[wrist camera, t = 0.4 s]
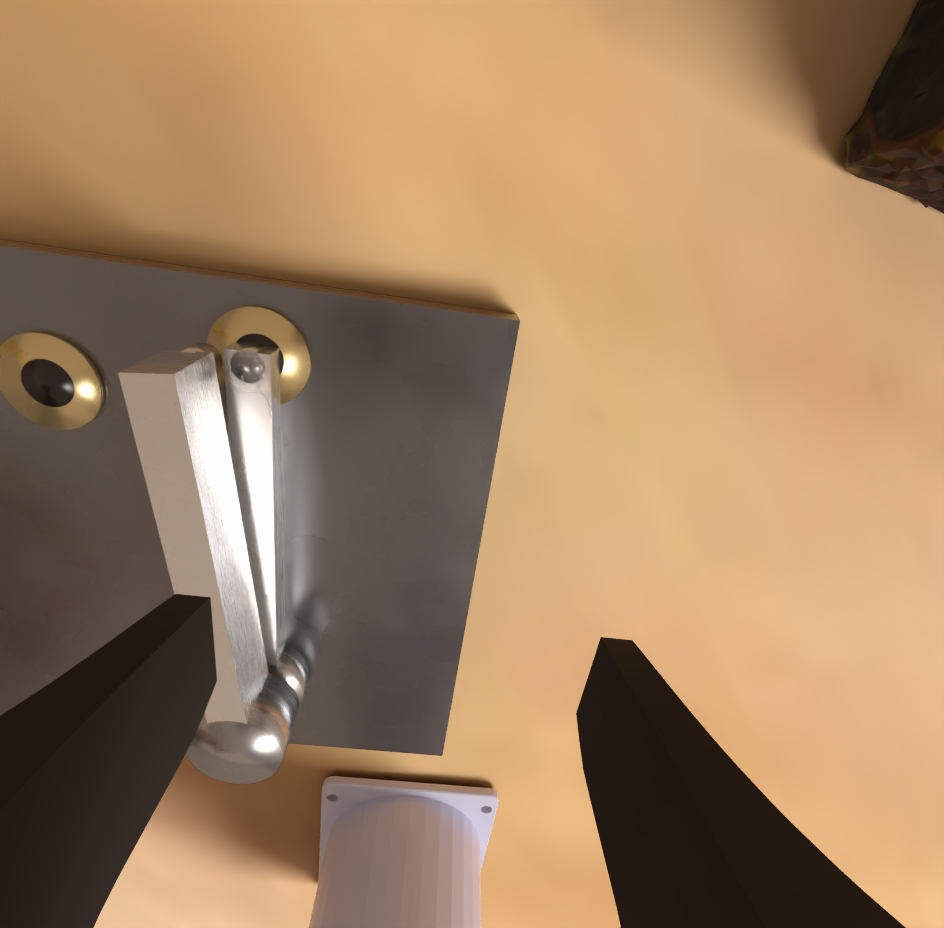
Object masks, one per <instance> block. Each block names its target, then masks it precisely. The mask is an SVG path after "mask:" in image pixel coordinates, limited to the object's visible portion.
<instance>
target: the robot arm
mask: <svg viewBox="0 0 944 928" xmlns="http://www.w3.org/2000/svg"><path fill="white" fill-rule="evenodd" d="M216 682H217V673H216V660H215V647H214V635H213V622H212V610H211V597H202V596H193V595H183V594H175V595H173V596H172V597H170V598H169V599H167V600H166V601H165V602H163V603H162V604H160V605H159V606H158V607H156V608H155V609H153V610H152V611H151V612H149V613H148V614H146V615H145V616H144V617H142V618H141V619H140V620H138V621H137V622H135V623H134V624H133V625H131V626H130V627H129V628H127V629H126V630H124V631H123V632H122V633H120V634H119V635H117V636H116V637H115V638H113V639H112V640H111V641H109V642H108V643H106V644H105V645H104V646H102V647H101V648H99V649H98V650H97V651H95V652H94V653H92V654H91V655H90V656H88V657H87V658H85V659H84V660H82V661H81V662H80V663H78V664H77V665H75V666H74V667H72V668H71V669H70V670H68V671H67V672H65V673H64V674H62V675H61V676H60V677H58V678H57V679H55V680H54V681H52V682H51V683H49V684H48V685H46V686H45V687H43V688H42V689H40V690H39V691H37V692H36V693H34V694H33V695H31V696H30V697H28V698H27V699H25V700H24V701H22V702H20V703H19V704H17V705H16V706H14V707H13V708H11V709H10V710H8V711H7V712H5V713H4V714H2V715H1V716H0V928H93V927H94V925H95V923H96V921H97V918H98V916H99V914H100V912H101V910H102V908H103V906H104V904H105V902H106V900H107V898H108V896H109V894H110V892H111V890H112V888H113V886H114V884H115V882H116V880H117V878H118V876H119V875H120V873H121V871H122V869H123V867H124V865H125V864H126V862H127V860H128V858H129V856H130V854H131V853H132V851H133V849H134V847H135V845H136V843H137V842H138V840H139V838H140V836H141V834H142V833H143V831H144V829H145V827H146V825H147V823H148V822H149V820H150V818H151V816H152V814H153V812H154V811H155V809H156V807H157V805H158V803H159V801H160V800H161V798H162V796H163V794H164V792H165V791H166V789H167V787H168V785H169V783H170V781H171V780H172V778H173V776H174V774H175V772H176V770H177V768H178V767H179V765H180V763H181V761H182V759H183V757H184V755H185V754H186V752H187V750H188V748H189V746H190V744H191V742H192V740H193V738H194V736H195V734H196V732H197V729H198V727H199V724H200V722H201V720H202V717H203V715H204V713H205V710H206V708H207V705H208V702H209V700H210V697H211V695H212V692H213V690H214V687H215V685H216ZM576 714H577V723H578V732H579V740H580V748H581V755H582V763H583V770H584V774H585V779H586V783H587V787H588V791H589V796H590V800H591V804H592V808H593V812H594V816H595V821H596V825H597V829H598V833H599V837H600V841H601V845H602V849H603V853H604V857H605V861H606V865H607V869H608V874H609V878H610V882H611V886H612V890H613V894H614V898H615V902H616V906H617V910H618V915H619V920H620V925H621V928H905V927H904V926H903V925H902V924H901V923H899V922H898V921H897V920H896V919H895V918H894V917H893V916H891V915H890V914H889V913H888V912H887V911H886V910H885V909H883V908H882V907H881V906H880V905H879V904H878V903H877V902H875V901H874V900H873V899H872V898H871V897H870V896H868V895H867V894H866V893H865V892H864V891H863V890H862V889H861V888H860V887H858V886H857V885H856V884H855V883H854V882H853V881H852V880H851V879H850V878H849V877H847V876H846V875H845V874H844V873H843V872H842V871H841V870H840V869H839V868H838V867H837V866H836V865H834V864H833V863H832V862H831V861H830V860H829V859H828V858H827V857H826V856H825V855H824V854H823V853H822V852H821V851H820V850H819V849H818V848H817V847H816V846H815V845H814V844H813V843H812V842H811V841H810V840H809V839H808V838H806V837H805V836H804V835H803V834H802V833H801V832H800V831H799V830H798V829H797V828H796V827H795V826H794V825H793V824H792V823H791V822H790V821H789V820H788V819H787V818H786V817H785V816H784V815H783V814H782V813H781V812H780V811H779V810H778V809H777V808H776V807H775V806H774V805H773V804H772V803H771V802H770V801H769V799H768V798H767V797H766V796H765V795H764V794H763V793H762V792H761V791H760V790H759V789H758V788H757V787H756V786H755V784H754V783H753V782H752V781H751V780H750V779H749V778H748V777H747V776H746V775H745V774H744V773H743V772H742V770H741V769H740V768H739V767H738V766H737V765H736V764H735V763H734V762H733V761H732V759H731V758H730V757H729V756H728V755H727V754H726V753H725V752H724V750H723V749H722V748H721V747H720V746H719V745H718V744H717V742H716V741H715V740H714V739H713V738H712V737H711V736H710V734H709V733H708V732H707V731H706V730H705V729H704V727H703V726H702V725H701V724H700V723H699V721H698V720H697V719H696V718H695V717H694V716H693V714H692V713H691V712H690V711H689V709H688V708H687V707H686V706H685V705H684V703H683V702H682V701H681V700H680V699H679V697H678V696H677V695H676V694H675V692H674V691H673V690H672V689H671V688H670V686H669V685H668V684H667V683H666V681H665V680H664V679H663V678H662V676H661V675H660V674H659V673H658V671H657V670H656V669H655V668H654V666H653V665H652V664H651V663H650V661H649V660H648V659H647V658H646V657H645V655H644V654H643V653H642V652H641V650H640V649H639V648H638V647H637V646H636V644H635V643H634V642H633V641H632V640H623V639H613V638H603V637H601V639H600V642H599V645H598V648H597V651H596V654H595V657H594V660H593V663H592V666H591V670H590V673H589V676H588V679H587V682H586V685H585V688H584V691H583V694H582V697H581V701H580V704H579V707H578V710H577V713H576ZM498 804H499V798H498V792H497V791H496V790H494V789H491V788H482V787H469V786H457V785H444V784H431V783H418V782H405V781H393V780H380V779H367V778H354V777H341V776H330V777H328V778H326V779H325V780H324V782H323V786H322V796H321V825H320V854H319V883H318V888H317V892H316V897H315V901H314V906H313V911H312V915H311V920H310V925H309V928H482V920H481V880H480V872H481V868H482V865H483V861H484V857H485V853H486V849H487V846H488V842H489V838H490V834H491V830H492V826H493V823H494V819H495V815H496V811H497V807H498Z"/></svg>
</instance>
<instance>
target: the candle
mask: <svg viewBox="0 0 944 928" xmlns="http://www.w3.org/2000/svg"><path fill="white" fill-rule="evenodd" d="M844 139H845V141H846V150H845V164H844V170H846V171H848V172H850V173H851V174H853V175H855V176H857V177H859V178H862V179H865V180H868V181H871V182H874V183H877V184H880V185H882V186H885V187H887V188H890V189H892V190H894V191H897V192H899V193H902V194H904V195H907V196H910V197H913V198H916V199H918V200H919V201H920V202H921V203H922V204H923V205H924V206H925V207H928V206H929V205H930V206H931V207H933V208H935V209H937V210H938V211H940V212H942V213H944V0H919V2H918V4H917V6H916V8H915V10H914V12H913V14H912V17H911V19H910V21H909V23H908V25H907V27H906V29H905V32H904V34H903V36H902V38H901V39H900V41H899V43H898V44H897V46H896V47H895V49H894V51H893V52H892V54H891V56H890V58H889V60H888V62H887V64H886V66H885V67H884V69H883V71H882V73H881V75H880V77H879V79H878V81H877V83H876V85H875V87H874V89H873V91H872V94H871V96H870V98H869V101H868V103H867V105H866V108H865V110H864V112H863V115H862V116H861V117H860V119H859V120H858V121H857V122H856V123H855V125H854V126H853V127H852V128H851V130H850V131H849V132H848V134H847V135H846V136H845V138H844Z"/></svg>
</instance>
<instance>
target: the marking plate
mask: <svg viewBox="0 0 944 928" xmlns="http://www.w3.org/2000/svg"><path fill="white" fill-rule="evenodd" d="M519 323H520V320H519V318H518V316H517V314H513V313H506V312H499V311H492V310H485V309H478V308H471V307H464V306H457V305H451V304H444V303H437V302H430V301H423V300H416V299H409V298H402V297H395V296H389V295H382V294H375V293H368V292H361V291H354V290H347V289H340V288H333V287H327V286H320V285H313V284H306V283H299V282H292V281H285V280H278V279H271V278H265V277H258V276H251V275H244V274H237V273H230V272H223V271H216V270H209V269H203V268H196V267H189V266H182V265H175V264H168V263H161V262H154V261H147V260H141V259H134V258H127V257H120V256H113V255H106V254H99V253H92V252H85V251H79V250H72V249H65V248H58V247H51V246H44V245H37V244H30V243H23V242H17V241H10V240H3V239H0V716H1V715H2V714H4V713H5V712H7V711H8V710H10V709H11V708H13V707H14V706H16V705H17V704H19V703H20V702H22V701H24V700H25V699H27V698H28V697H30V696H31V695H33V694H34V693H36V692H37V691H39V690H40V689H42V688H43V687H45V686H46V685H48V684H49V683H51V682H52V681H54V680H55V679H57V678H58V677H60V676H61V675H62V674H64V673H65V672H67V671H68V670H70V669H71V668H72V667H74V666H75V665H77V664H78V663H80V662H81V661H82V660H84V659H85V658H87V657H88V656H90V655H91V654H92V653H94V652H95V651H97V650H98V649H99V648H101V647H102V646H104V645H105V644H106V643H108V642H109V641H111V640H112V639H113V638H115V637H116V636H117V635H119V634H120V633H122V632H123V631H124V630H126V629H127V628H129V627H130V626H131V625H133V624H134V623H135V622H137V621H138V620H140V619H141V618H142V617H144V616H145V615H146V614H148V613H149V612H151V611H152V610H153V609H155V608H156V607H158V606H159V605H160V604H162V603H163V602H165V601H166V600H167V599H169V598H170V597H172V596H173V595H175V594H174V590H173V586H172V583H171V579H170V575H169V571H168V567H167V563H166V559H165V555H164V551H163V547H162V543H161V539H160V535H159V532H158V528H157V524H156V520H155V516H154V512H153V508H152V504H151V500H150V496H149V492H148V488H147V484H146V481H145V477H144V473H143V469H142V465H141V461H140V457H139V453H138V449H137V445H136V441H135V437H134V433H133V430H132V426H131V422H130V418H129V414H128V410H127V406H126V402H125V398H124V394H123V390H122V386H121V382H120V379H119V375H118V372H120V371H122V370H124V369H126V368H128V367H131V366H133V365H135V364H137V363H139V362H141V361H143V360H145V359H147V358H150V357H152V356H154V355H156V354H158V353H160V352H162V351H164V350H167V351H181V350H183V349H185V348H187V347H189V346H191V345H193V344H195V343H198V342H206V343H209V344H211V345H213V346H214V347H216V348H217V349H218V351H219V352H220V354H221V356H222V359H223V365H222V368H221V370H220V371H219V372H218V373H217V378H218V384H219V390H220V395H221V401H222V407H223V413H224V419H225V424H226V430H227V436H228V442H229V447H230V453H231V459H232V465H233V470H234V476H235V482H236V488H237V494H238V499H239V505H240V511H241V517H242V522H243V528H244V534H245V540H246V546H247V551H248V557H249V563H250V569H251V574H252V580H253V586H254V592H255V598H256V603H257V609H258V615H259V621H260V626H261V632H262V638H263V644H264V649H265V655H266V661H267V667H268V673H270V674H273V675H275V676H277V677H279V678H281V679H283V680H284V681H286V682H287V683H288V684H289V685H290V686H291V687H292V688H293V689H294V690H295V692H296V694H297V696H298V699H299V711H298V714H297V717H296V720H295V723H294V726H293V729H292V732H291V735H290V738H289V741H288V743H292V744H305V745H317V746H329V747H341V748H353V749H366V750H378V751H390V752H402V753H414V754H427V755H439V756H442V754H443V748H444V743H445V737H446V731H447V726H448V720H449V715H450V709H451V703H452V698H453V692H454V687H455V681H456V675H457V670H458V664H459V659H460V653H461V647H462V642H463V636H464V631H465V625H466V619H467V614H468V608H469V603H470V597H471V592H472V586H473V580H474V575H475V569H476V564H477V558H478V552H479V547H480V541H481V536H482V530H483V524H484V519H485V513H486V508H487V502H488V496H489V491H490V485H491V480H492V474H493V468H494V463H495V457H496V452H497V446H498V440H499V435H500V429H501V424H502V418H503V412H504V407H505V401H506V396H507V390H508V384H509V379H510V373H511V368H512V362H513V357H514V351H515V345H516V340H517V334H518V329H519Z"/></svg>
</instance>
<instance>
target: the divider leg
mask: <svg viewBox="0 0 944 928" xmlns="http://www.w3.org/2000/svg"><path fill="white" fill-rule="evenodd" d="M222 365H223V359H222V356H221V354H220V352H219V351H218V349H217V348H216V347H214V346H213V345H211V344H209V343H206V342H198V343H195V344H193V345H191V346H189V347H187V348H185V349H183V350H181V351H167V350H164V351H162V352H160V353H158V354H156V355H154V356H152V357H150V358H147V359H145V360H143V361H141V362H139V363H137V364H135V365H133V366H131V367H128V368H126V369H124V370H122V371H120V372H118V375H119V379H120V382H121V386H122V390H123V394H124V398H125V402H126V406H127V410H128V414H129V418H130V422H131V426H132V430H133V433H134V437H135V441H136V445H137V449H138V453H139V457H140V461H141V465H142V469H143V473H144V477H145V481H146V484H147V488H148V492H149V496H150V500H151V504H152V508H153V512H154V516H155V520H156V524H157V528H158V532H159V535H160V539H161V543H162V547H163V551H164V555H165V559H166V563H167V567H168V571H169V575H170V579H171V583H172V586H173V590H174V594H183V595H193V596H202V597H211V610H212V622H213V635H214V647H215V660H216V673H217V682H216V685H215V687H214V690H213V692H212V695H211V697H210V700H209V702H208V705H207V708H206V710H205V713H204V715H203V717H202V720H201V722H200V724H199V727H198V729H197V732H196V734H195V736H194V738H193V740H192V742H191V744H190V746H189V748H188V750H187V752H186V754H187V756H188V758H189V760H190V762H191V763H192V764H193V765H194V766H195V767H196V768H197V769H198V770H199V771H201V772H202V773H204V774H205V775H207V776H209V777H211V778H214V779H216V780H219V781H223V782H227V783H234V784H250V783H256V782H260V781H263V780H265V779H267V778H269V777H271V776H272V775H274V774H275V773H276V772H277V770H278V769H279V767H280V766H281V763H282V760H283V757H284V754H285V751H286V748H287V744H288V741H289V738H290V735H291V732H292V729H293V726H294V723H295V720H296V717H297V714H298V711H299V699H298V696H297V694H296V692H295V690H294V689H293V688H292V687H291V686H290V685H289V684H288V683H287V682H286V681H284V680H283V679H281V678H279V677H277V676H275V675H273V674H270V673H268V667H267V661H266V655H265V649H264V644H263V638H262V632H261V626H260V621H259V615H258V609H257V603H256V598H255V592H254V586H253V580H252V574H251V569H250V563H249V557H248V551H247V546H246V540H245V534H244V528H243V522H242V517H241V511H240V505H239V499H238V494H237V488H236V482H235V476H234V470H233V465H232V459H231V453H230V447H229V442H228V436H227V430H226V424H225V419H224V413H223V407H222V401H221V395H220V390H219V384H218V378H217V373H218V372H219V371H220V370H221V368H222Z"/></svg>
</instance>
